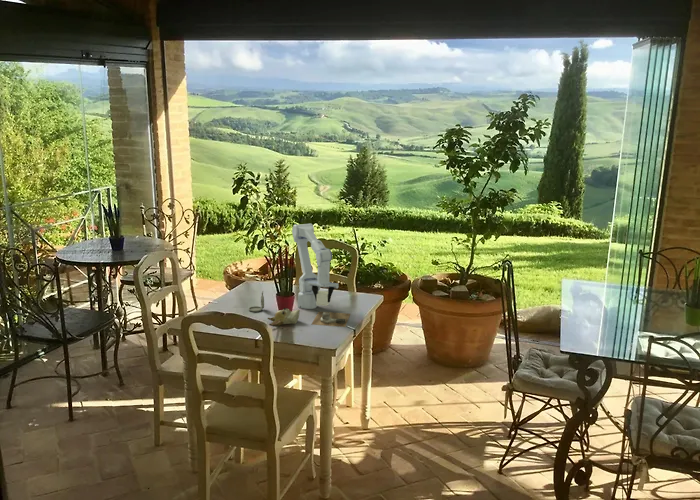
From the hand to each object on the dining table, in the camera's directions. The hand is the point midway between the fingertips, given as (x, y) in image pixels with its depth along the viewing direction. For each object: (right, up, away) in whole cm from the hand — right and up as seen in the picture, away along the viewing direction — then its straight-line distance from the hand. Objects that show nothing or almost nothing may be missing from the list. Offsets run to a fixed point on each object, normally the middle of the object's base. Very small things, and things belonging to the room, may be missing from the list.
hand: (322, 301), depth 281 cm
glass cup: (-33, -6, +11) cm, 36 cm away
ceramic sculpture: (-18, -11, -8) cm, 23 cm away
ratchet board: (+4, -10, -3) cm, 11 cm away
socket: (0, -1, 0) cm, 1 cm away
